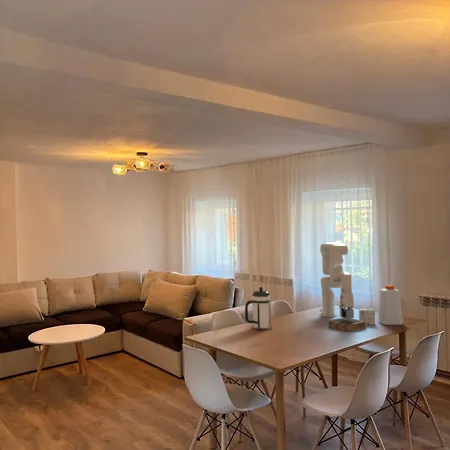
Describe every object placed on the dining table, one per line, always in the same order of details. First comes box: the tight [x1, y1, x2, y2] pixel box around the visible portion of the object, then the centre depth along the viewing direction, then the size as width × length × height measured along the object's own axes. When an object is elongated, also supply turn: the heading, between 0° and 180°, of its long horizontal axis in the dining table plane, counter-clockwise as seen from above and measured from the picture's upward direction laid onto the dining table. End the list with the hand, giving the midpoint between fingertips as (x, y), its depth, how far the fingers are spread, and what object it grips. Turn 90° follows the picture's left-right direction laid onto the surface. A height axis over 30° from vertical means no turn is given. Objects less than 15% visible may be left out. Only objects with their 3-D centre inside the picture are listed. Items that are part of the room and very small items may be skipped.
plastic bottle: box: [378, 284, 404, 326], centre depth 328 cm, size 15×15×28 cm
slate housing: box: [339, 307, 355, 319], centre depth 317 cm, size 5×9×6 cm, turn 34°
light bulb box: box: [358, 308, 376, 326], centre depth 329 cm, size 11×7×11 cm, turn 84°
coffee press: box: [244, 287, 273, 332], centre depth 318 cm, size 17×16×30 cm
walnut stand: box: [328, 317, 366, 333], centre depth 317 cm, size 18×18×5 cm
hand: (346, 316), depth 316 cm, fingers closed on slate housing, 5 cm apart
